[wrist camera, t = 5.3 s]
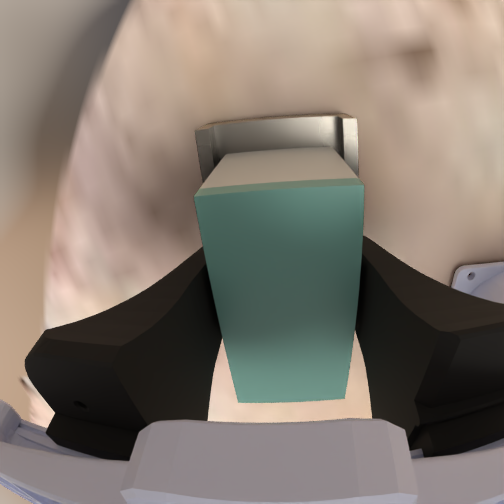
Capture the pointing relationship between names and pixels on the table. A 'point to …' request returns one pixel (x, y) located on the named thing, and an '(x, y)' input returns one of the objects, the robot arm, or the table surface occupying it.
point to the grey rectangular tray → (277, 137)
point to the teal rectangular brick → (284, 269)
